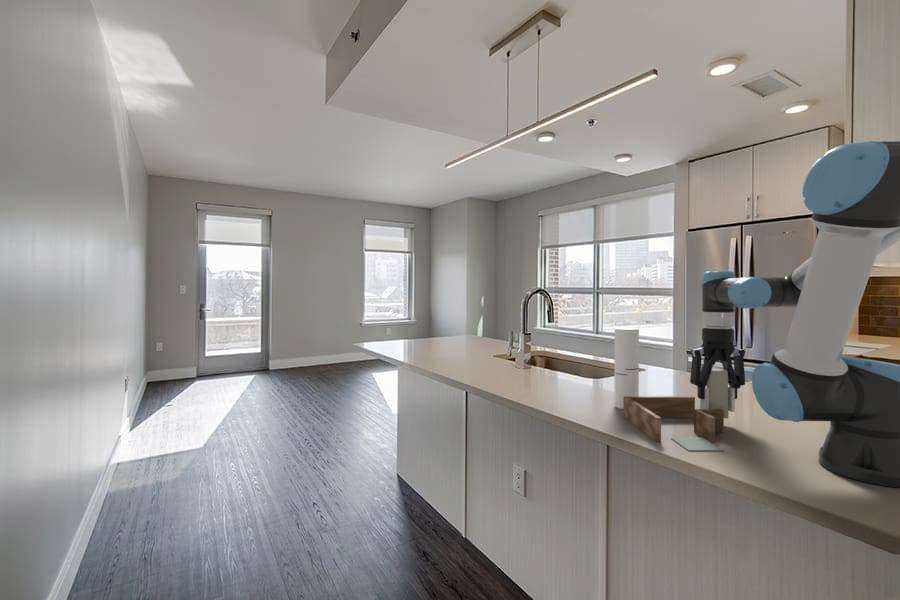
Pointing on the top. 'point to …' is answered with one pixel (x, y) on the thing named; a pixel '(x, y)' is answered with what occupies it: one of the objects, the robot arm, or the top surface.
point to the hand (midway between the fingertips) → (717, 410)
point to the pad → (696, 444)
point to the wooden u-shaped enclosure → (672, 415)
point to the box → (718, 390)
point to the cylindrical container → (626, 365)
